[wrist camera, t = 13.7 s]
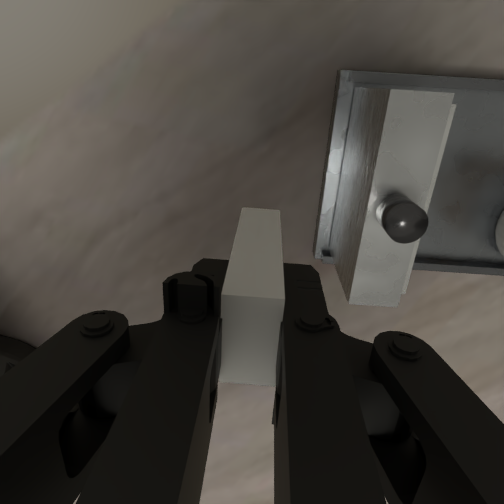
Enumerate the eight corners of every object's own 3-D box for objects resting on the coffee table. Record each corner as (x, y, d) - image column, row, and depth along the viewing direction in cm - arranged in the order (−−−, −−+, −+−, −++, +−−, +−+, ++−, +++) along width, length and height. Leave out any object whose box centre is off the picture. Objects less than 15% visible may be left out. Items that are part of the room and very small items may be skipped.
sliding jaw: (328, 249, 30) (355, 323, 21) (354, 87, 25) (405, 89, 16) (373, 252, 30) (419, 328, 21) (408, 90, 25) (490, 95, 16)
